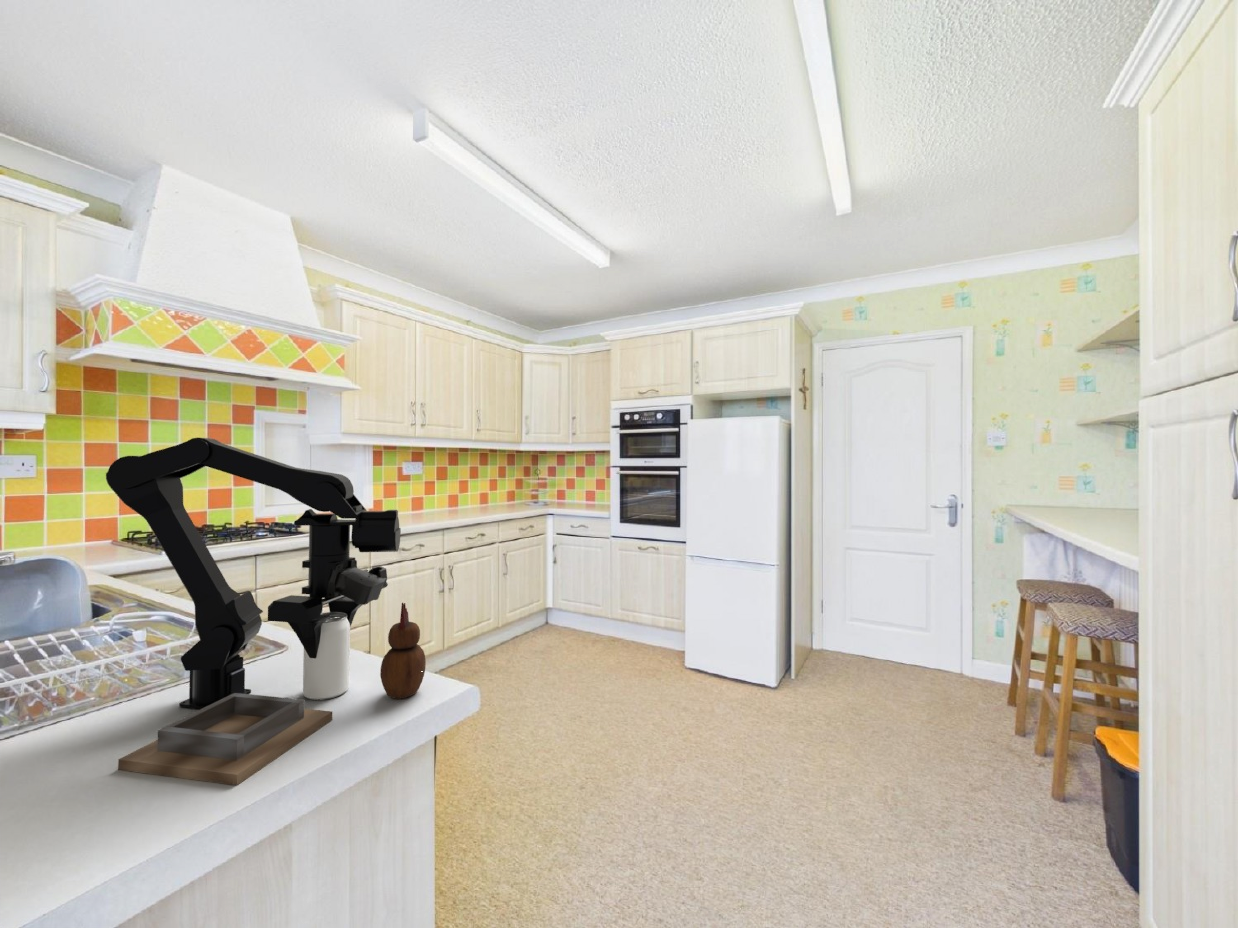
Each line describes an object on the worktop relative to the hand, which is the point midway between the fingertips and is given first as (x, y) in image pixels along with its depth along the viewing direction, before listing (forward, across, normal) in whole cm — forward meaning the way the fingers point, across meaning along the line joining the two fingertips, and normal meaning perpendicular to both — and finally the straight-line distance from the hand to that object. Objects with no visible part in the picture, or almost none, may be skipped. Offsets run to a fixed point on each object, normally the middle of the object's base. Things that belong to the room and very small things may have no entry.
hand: (327, 650), depth 87 cm
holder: (+6, -16, +1) cm, 17 cm away
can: (+7, 0, 0) cm, 7 cm away
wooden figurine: (+7, +2, -12) cm, 14 cm away
